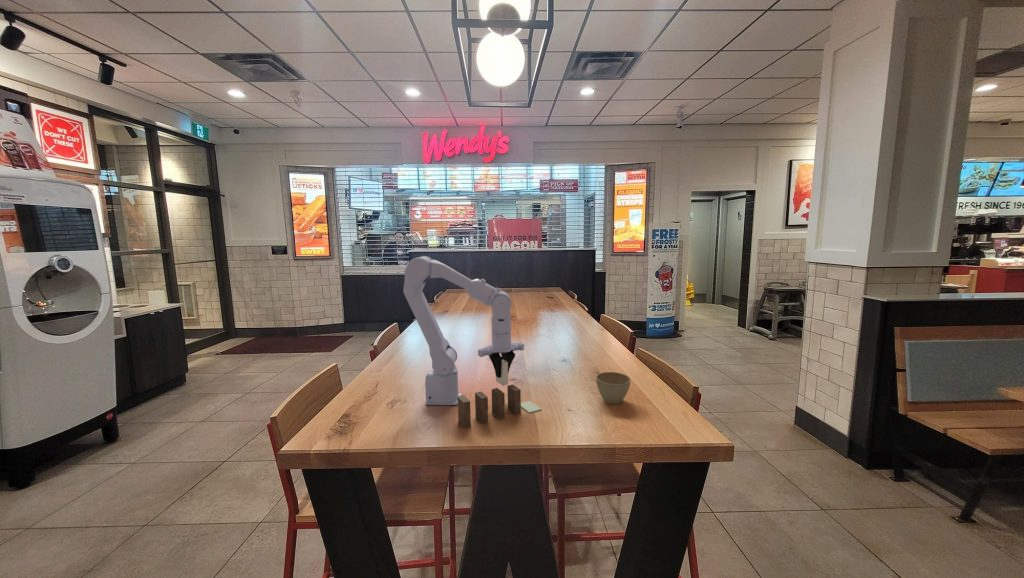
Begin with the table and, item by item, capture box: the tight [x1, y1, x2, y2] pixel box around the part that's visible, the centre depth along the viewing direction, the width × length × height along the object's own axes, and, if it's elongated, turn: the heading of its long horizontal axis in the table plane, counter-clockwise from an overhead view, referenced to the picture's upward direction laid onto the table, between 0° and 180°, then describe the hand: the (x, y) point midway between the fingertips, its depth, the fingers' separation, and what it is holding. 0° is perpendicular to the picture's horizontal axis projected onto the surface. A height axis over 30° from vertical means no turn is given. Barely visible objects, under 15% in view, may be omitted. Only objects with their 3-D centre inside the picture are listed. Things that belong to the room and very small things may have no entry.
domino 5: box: [506, 384, 522, 416], centre depth 109 cm, size 2×4×7 cm, turn 29°
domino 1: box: [457, 394, 472, 429], centre depth 102 cm, size 2×4×7 cm, turn 28°
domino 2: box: [474, 391, 489, 425], centre depth 104 cm, size 2×4×7 cm, turn 28°
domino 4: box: [491, 387, 506, 420], centre depth 107 cm, size 2×4×7 cm, turn 28°
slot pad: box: [521, 400, 542, 414], centre depth 112 cm, size 4×6×1 cm, turn 28°
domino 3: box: [495, 359, 509, 387], centre depth 117 cm, size 2×4×7 cm, turn 29°
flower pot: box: [595, 371, 632, 405], centre depth 115 cm, size 10×10×7 cm
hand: (501, 376), depth 117 cm, fingers closed on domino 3, 2 cm apart
